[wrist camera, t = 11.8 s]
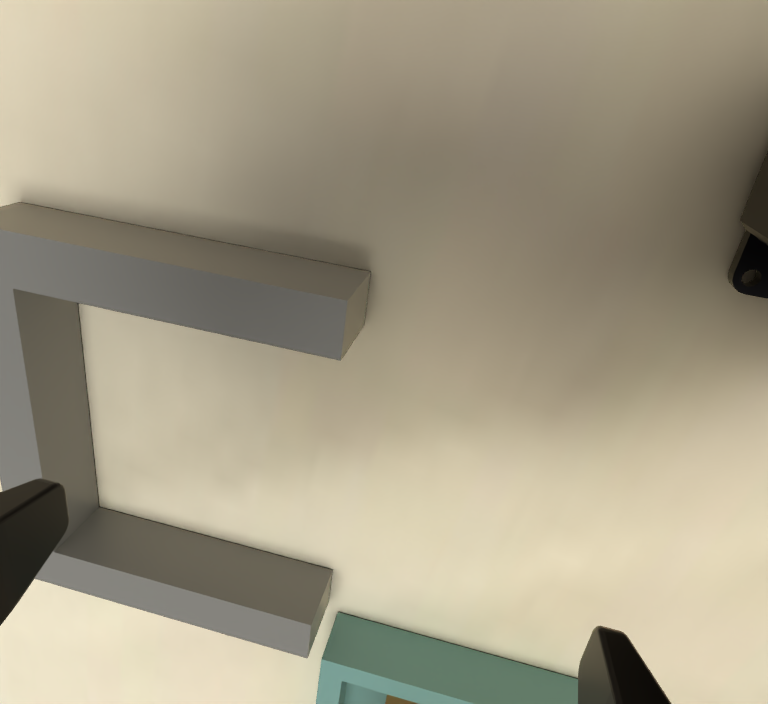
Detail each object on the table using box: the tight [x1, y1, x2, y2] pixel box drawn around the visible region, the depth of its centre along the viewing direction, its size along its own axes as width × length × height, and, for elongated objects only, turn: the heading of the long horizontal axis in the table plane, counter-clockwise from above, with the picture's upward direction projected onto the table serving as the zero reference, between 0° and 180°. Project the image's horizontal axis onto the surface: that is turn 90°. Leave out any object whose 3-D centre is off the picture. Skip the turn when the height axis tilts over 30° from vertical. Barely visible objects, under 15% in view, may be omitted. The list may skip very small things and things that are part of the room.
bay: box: [0, 202, 371, 658], centre depth 23 cm, size 14×16×3 cm
